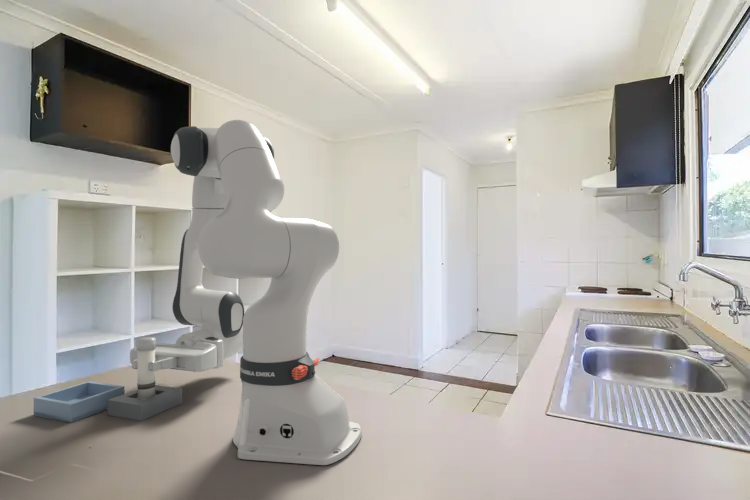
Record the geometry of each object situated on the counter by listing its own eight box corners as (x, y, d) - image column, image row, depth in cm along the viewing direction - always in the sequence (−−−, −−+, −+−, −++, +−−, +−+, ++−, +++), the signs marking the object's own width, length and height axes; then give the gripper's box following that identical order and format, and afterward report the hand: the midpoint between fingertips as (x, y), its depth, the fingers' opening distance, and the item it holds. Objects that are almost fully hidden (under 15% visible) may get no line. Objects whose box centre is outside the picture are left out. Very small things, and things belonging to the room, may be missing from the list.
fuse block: (182, 402, 87) (182, 388, 87) (141, 421, 78) (141, 405, 78) (150, 397, 90) (150, 384, 90) (107, 414, 81) (107, 399, 81)
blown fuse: (160, 404, 85) (160, 337, 85) (145, 410, 81) (145, 341, 81) (147, 402, 86) (147, 336, 86) (132, 408, 83) (132, 340, 83)
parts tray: (124, 402, 87) (124, 386, 87) (71, 422, 77) (71, 404, 77) (88, 396, 91) (88, 381, 91) (33, 415, 81) (33, 397, 81)
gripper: (160, 334, 99) (106, 347, 86) (228, 340, 92) (180, 354, 79) (160, 360, 99) (106, 376, 86) (228, 367, 92) (180, 386, 79)
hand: (142, 366), depth 83 cm, fingers closed on blown fuse, 3 cm apart
